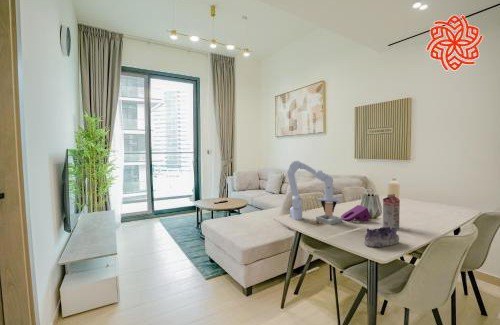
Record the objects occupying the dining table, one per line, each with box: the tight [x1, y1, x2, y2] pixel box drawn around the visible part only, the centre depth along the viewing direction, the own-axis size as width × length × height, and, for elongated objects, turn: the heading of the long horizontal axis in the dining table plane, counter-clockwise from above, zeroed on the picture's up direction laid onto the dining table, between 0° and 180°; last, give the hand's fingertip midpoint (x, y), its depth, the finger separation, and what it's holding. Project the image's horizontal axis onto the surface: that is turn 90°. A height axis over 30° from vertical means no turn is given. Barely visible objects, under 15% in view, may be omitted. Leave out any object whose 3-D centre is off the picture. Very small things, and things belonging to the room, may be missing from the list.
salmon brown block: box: [324, 202, 334, 216], centre depth 168 cm, size 5×5×8 cm
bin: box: [315, 214, 343, 226], centre depth 168 cm, size 13×12×4 cm
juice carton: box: [382, 193, 401, 230], centre depth 154 cm, size 7×7×22 cm
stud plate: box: [309, 218, 327, 227], centre depth 163 cm, size 9×9×4 cm
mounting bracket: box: [340, 204, 371, 223], centre depth 171 cm, size 10×9×19 cm
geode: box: [364, 225, 400, 249], centre depth 129 cm, size 20×12×10 cm, turn 114°
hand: (328, 211), depth 168 cm, fingers closed on salmon brown block, 5 cm apart
